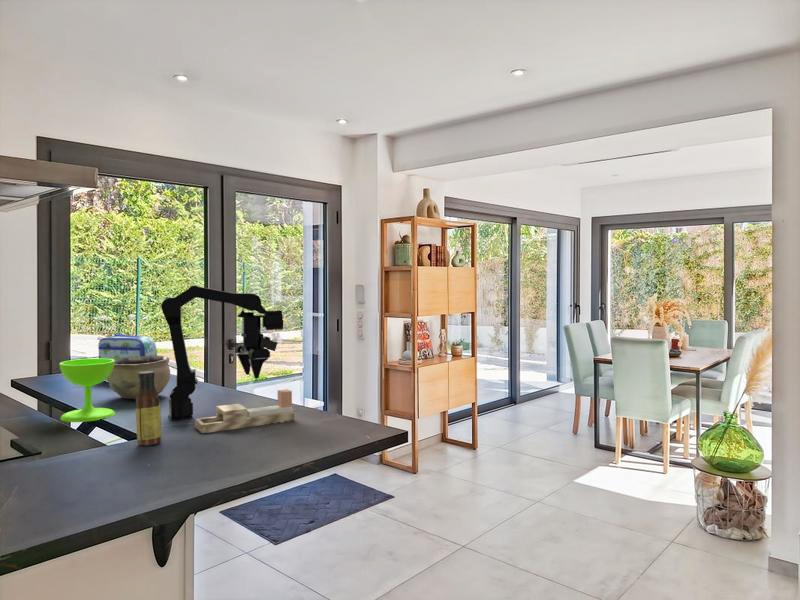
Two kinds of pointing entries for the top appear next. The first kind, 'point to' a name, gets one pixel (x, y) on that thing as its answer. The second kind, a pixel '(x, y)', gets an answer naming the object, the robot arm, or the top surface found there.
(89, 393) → the wineglass
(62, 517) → the top surface
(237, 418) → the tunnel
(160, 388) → the ceramic bowl
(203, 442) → the top surface
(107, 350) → the lunch box
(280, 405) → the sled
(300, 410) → the top surface
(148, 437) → the sauce bottle
